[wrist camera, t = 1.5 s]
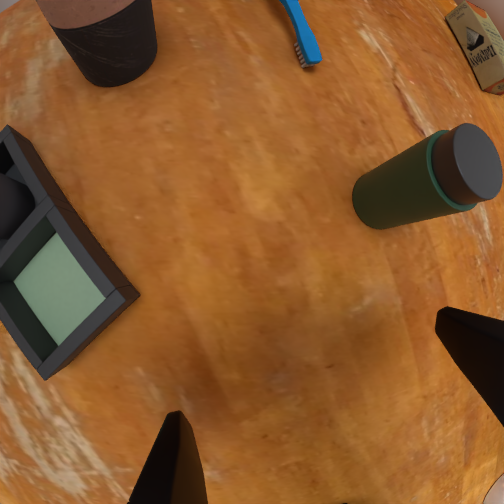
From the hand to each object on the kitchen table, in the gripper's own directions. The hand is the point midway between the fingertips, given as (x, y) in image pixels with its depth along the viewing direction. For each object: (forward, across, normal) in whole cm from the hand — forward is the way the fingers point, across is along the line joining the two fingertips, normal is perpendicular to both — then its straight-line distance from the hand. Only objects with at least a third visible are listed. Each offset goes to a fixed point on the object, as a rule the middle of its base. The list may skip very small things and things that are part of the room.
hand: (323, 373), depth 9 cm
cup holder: (+16, +16, -3) cm, 23 cm away
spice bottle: (+15, -12, +1) cm, 19 cm away
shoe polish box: (+22, -38, -19) cm, 48 cm away
